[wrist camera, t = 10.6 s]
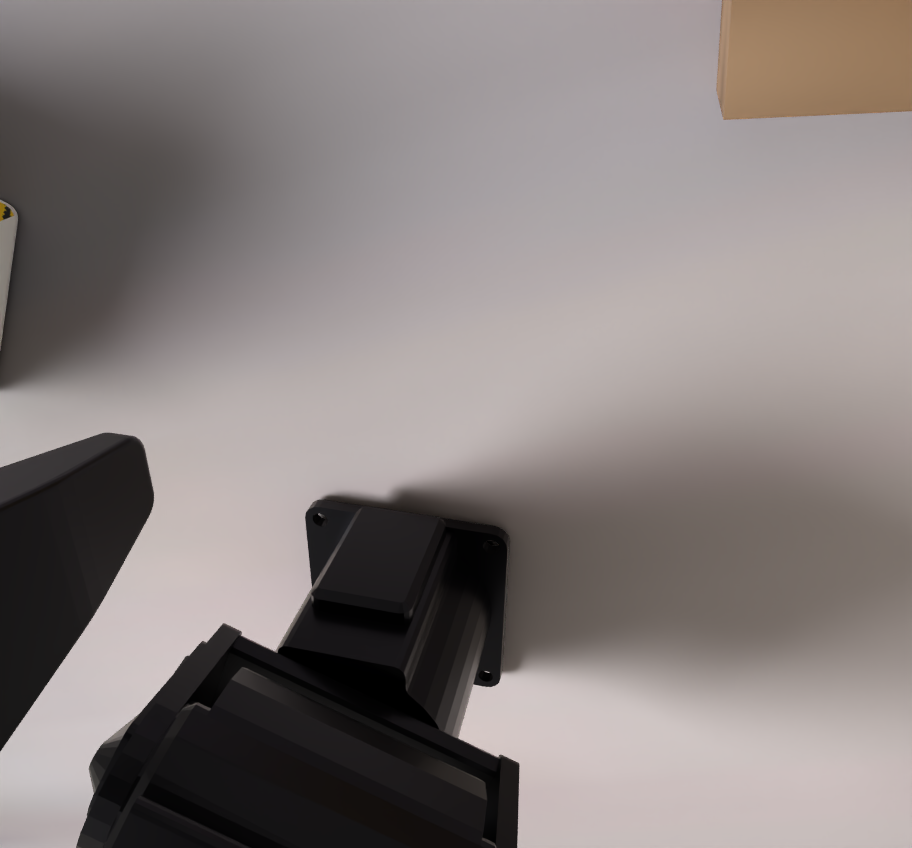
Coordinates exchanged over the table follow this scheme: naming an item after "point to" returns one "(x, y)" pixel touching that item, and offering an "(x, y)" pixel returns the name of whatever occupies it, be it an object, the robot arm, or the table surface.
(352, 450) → the table surface
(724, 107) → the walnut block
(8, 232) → the medicine bottle
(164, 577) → the table surface
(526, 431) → the table surface
